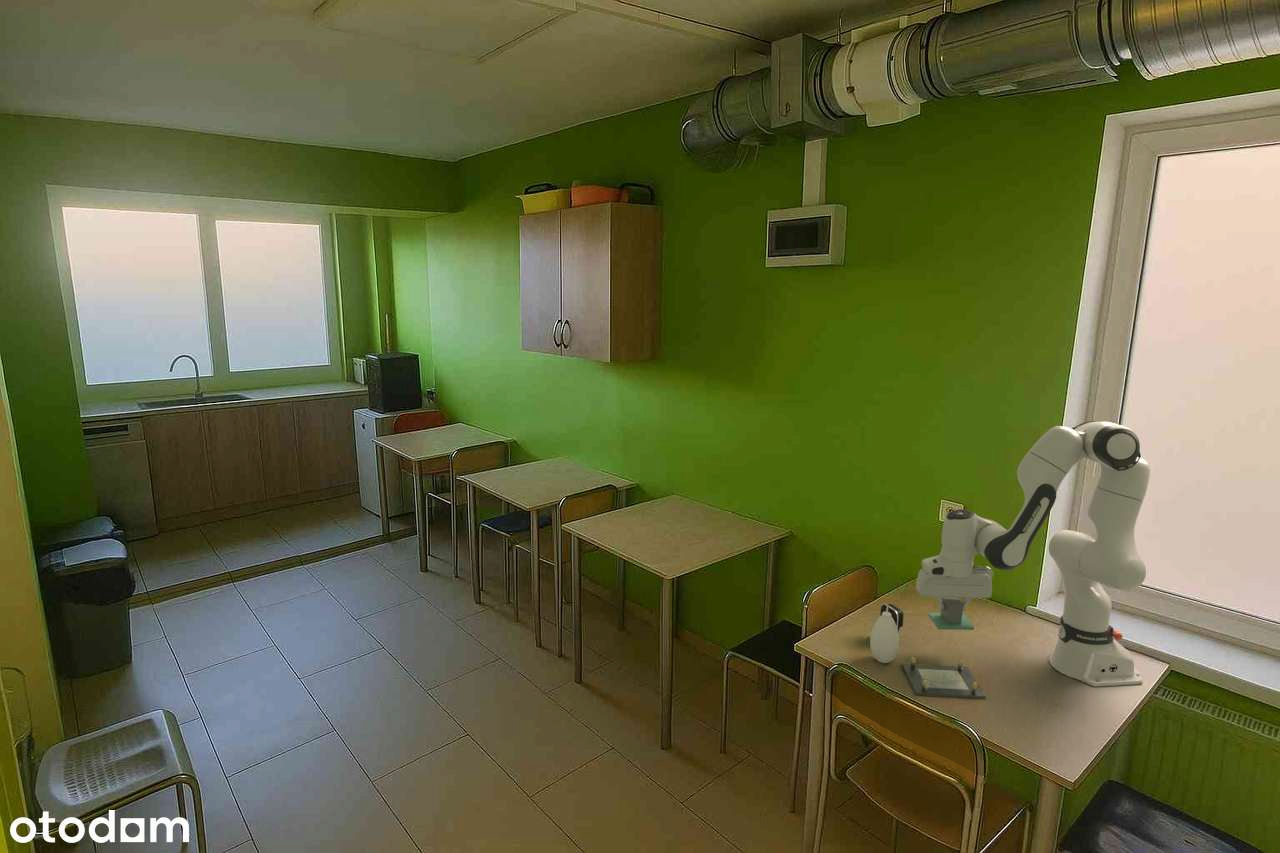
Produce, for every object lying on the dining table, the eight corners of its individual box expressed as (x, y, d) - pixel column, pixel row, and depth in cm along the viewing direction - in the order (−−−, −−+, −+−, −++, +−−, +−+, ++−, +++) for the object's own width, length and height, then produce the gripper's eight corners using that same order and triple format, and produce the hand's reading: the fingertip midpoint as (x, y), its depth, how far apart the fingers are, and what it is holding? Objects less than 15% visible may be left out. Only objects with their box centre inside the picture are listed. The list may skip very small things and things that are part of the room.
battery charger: (903, 645, 212) (906, 610, 210) (893, 647, 211) (896, 613, 209) (887, 634, 219) (890, 600, 216) (877, 636, 217) (880, 602, 215)
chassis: (966, 669, 200) (968, 657, 199) (985, 698, 186) (987, 686, 185) (902, 665, 201) (903, 654, 201) (915, 694, 188) (917, 682, 187)
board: (962, 616, 207) (964, 594, 205) (973, 629, 199) (976, 607, 197) (928, 615, 207) (930, 594, 206) (937, 629, 200) (939, 607, 198)
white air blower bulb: (872, 651, 209) (876, 596, 205) (899, 658, 205) (904, 602, 201) (865, 663, 203) (870, 607, 198) (893, 671, 199) (899, 614, 195)
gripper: (989, 561, 201) (984, 605, 204) (916, 559, 203) (912, 603, 206) (998, 571, 195) (993, 616, 198) (922, 569, 197) (918, 613, 200)
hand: (951, 609), depth 202 cm, fingers closed on board, 4 cm apart
